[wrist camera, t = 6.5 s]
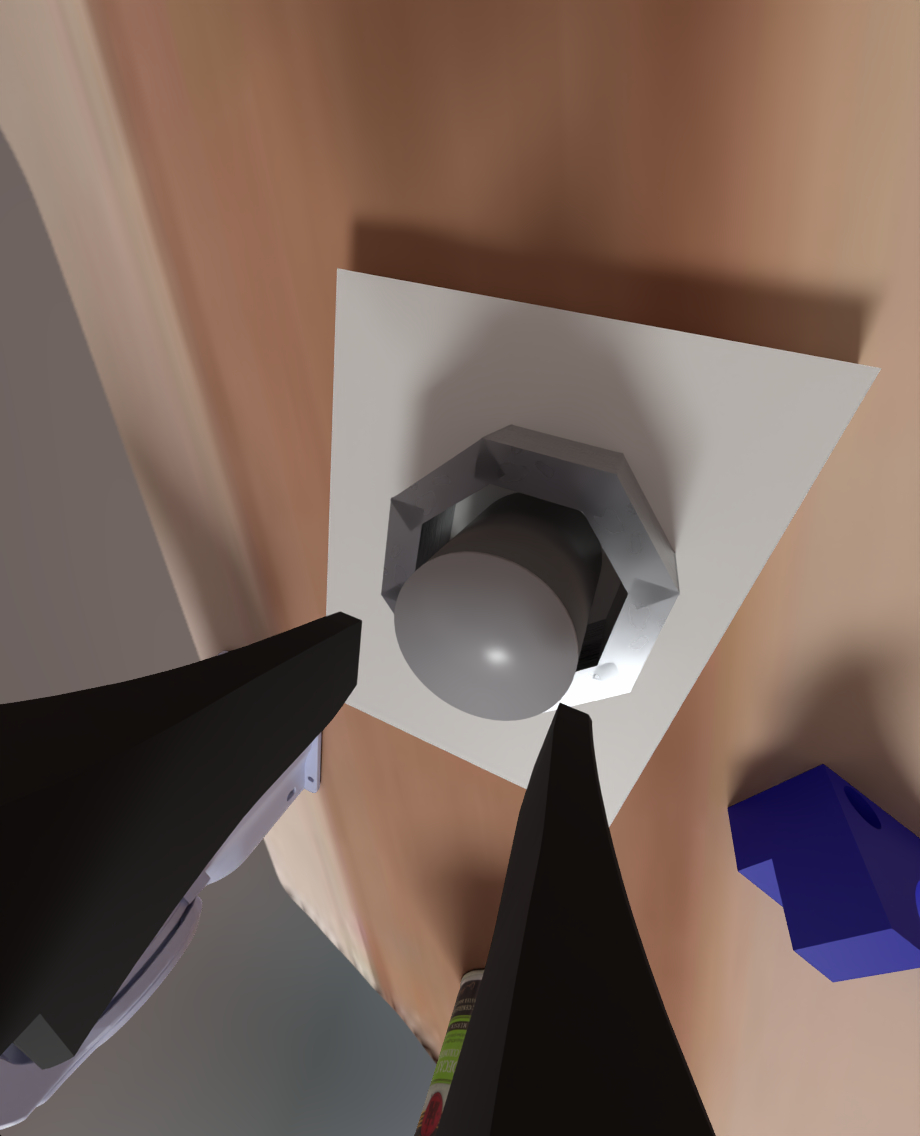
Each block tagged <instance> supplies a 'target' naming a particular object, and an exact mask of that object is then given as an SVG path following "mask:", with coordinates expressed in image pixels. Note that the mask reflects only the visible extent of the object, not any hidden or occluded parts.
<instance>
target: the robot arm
mask: <svg viewBox="0 0 920 1136" xmlns="http://www.w3.org/2000/svg"><path fill="white" fill-rule="evenodd" d="M361 630H362V620H360V619H358V618H355V617H353V616H350V615H348V614H346V613H343V612H341V611H340V612H337V613H334V614H331V615H328V616H325V617H323V618H320V619H317V620H315V621H312V622H309V623H307V624H304V625H302V626H299V627H296V628H294V629H291V630H288V631H286V632H283V633H280V634H278V635H275V636H272V637H270V638H267V639H264V640H261V641H259V642H256V643H253V644H251V645H248V646H245V647H242V648H239V649H236V650H233V651H230V652H228V651H222V652H221V653H219V654H218V656H215V657H211V658H208V659H205V660H202V661H199V662H196V663H193V664H190V665H186V666H183V667H179V668H176V669H172V670H169V671H165V672H161V673H157V674H153V675H149V676H145V677H142V678H137V679H133V680H129V681H125V682H121V683H116V684H111V685H106V686H101V687H96V688H91V689H86V690H81V691H77V692H71V693H67V694H62V695H57V696H51V697H45V698H39V699H33V700H26V701H20V702H14V703H7V704H0V1130H1V1129H4V1128H7V1127H10V1126H13V1125H16V1124H18V1123H20V1122H22V1121H23V1120H25V1119H26V1118H27V1117H28V1116H29V1115H30V1114H31V1112H32V1111H33V1110H34V1109H35V1108H36V1107H37V1106H39V1105H42V1104H43V1103H45V1102H46V1101H47V1100H48V1099H49V1098H50V1097H51V1096H52V1095H53V1093H54V1092H55V1091H56V1090H57V1089H58V1088H59V1087H60V1086H61V1085H62V1084H63V1083H64V1081H65V1080H66V1079H67V1078H68V1077H69V1076H70V1075H71V1074H72V1073H73V1072H74V1071H75V1070H76V1069H77V1068H78V1067H79V1066H80V1064H81V1063H82V1062H83V1061H84V1060H85V1059H86V1058H87V1057H88V1056H89V1055H90V1054H91V1053H92V1052H93V1051H94V1050H95V1049H96V1048H97V1047H99V1046H100V1045H102V1044H103V1043H104V1042H105V1041H107V1040H108V1039H109V1038H110V1037H111V1036H112V1035H114V1034H115V1033H116V1032H117V1031H118V1030H119V1029H120V1028H121V1027H122V1026H123V1025H124V1024H125V1023H126V1022H127V1021H128V1020H129V1019H130V1018H131V1017H132V1016H133V1015H134V1014H135V1012H137V1011H138V1010H139V1008H140V1007H141V1006H142V1005H143V1004H144V1003H145V1002H146V1001H147V999H148V998H149V997H150V996H151V995H152V994H153V993H154V991H155V990H156V989H157V988H158V986H159V985H160V984H161V983H162V982H163V980H164V979H165V977H166V976H167V975H168V974H169V972H170V971H171V970H172V969H173V967H174V966H175V964H176V963H177V962H178V960H179V959H180V957H181V956H182V954H183V953H184V951H185V950H186V948H187V947H188V945H189V943H190V942H191V940H192V938H193V936H194V934H195V932H196V929H197V926H198V922H199V917H200V913H201V910H202V904H203V903H202V900H201V898H199V897H198V896H197V895H198V894H199V893H200V892H201V890H202V889H203V888H204V887H205V886H206V885H208V884H211V883H213V882H215V881H218V880H220V879H221V878H223V877H225V876H227V875H228V874H230V873H231V872H233V871H234V870H235V869H236V868H238V867H239V866H240V865H241V864H242V863H243V862H244V861H245V860H246V858H247V857H248V856H249V855H250V854H251V852H252V851H253V850H254V849H255V848H256V846H257V845H258V844H259V842H260V841H261V840H262V839H263V838H264V837H265V835H266V834H267V833H268V832H269V830H270V829H271V828H272V827H273V826H274V824H275V823H276V822H277V821H278V819H279V818H280V817H281V816H282V815H283V813H284V812H285V811H286V810H287V808H288V807H289V806H290V805H291V804H292V802H293V801H294V800H295V799H296V797H297V796H298V795H299V794H300V792H301V791H302V790H303V789H306V790H308V791H310V792H312V793H316V792H317V791H318V790H319V788H320V761H321V732H322V731H323V729H324V728H325V727H326V726H327V725H328V724H329V723H330V722H331V720H332V719H333V718H334V716H335V715H336V714H337V712H338V711H339V710H340V708H341V707H342V706H343V704H344V703H345V701H346V700H347V698H348V697H349V696H350V694H351V693H352V691H353V690H354V688H355V687H356V686H357V679H358V667H359V655H360V643H361ZM0 1136H1V1135H0ZM435 1136H716V1135H715V1133H714V1130H713V1128H712V1125H711V1123H710V1120H709V1118H708V1115H707V1113H706V1110H705V1108H704V1105H703V1103H702V1100H701V1098H700V1095H699V1093H698V1090H697V1088H696V1085H695V1083H694V1080H693V1078H692V1075H691V1073H690V1070H689V1068H688V1065H687V1063H686V1060H685V1058H684V1055H683V1053H682V1050H681V1048H680V1045H679V1043H678V1040H677V1038H676V1035H675V1033H674V1030H673V1028H672V1025H671V1023H670V1020H669V1018H668V1015H667V1012H666V1010H665V1007H664V1004H663V1001H662V999H661V996H660V993H659V990H658V987H657V985H656V982H655V979H654V976H653V974H652V971H651V968H650V965H649V962H648V959H647V956H646V953H645V950H644V947H643V944H642V941H641V938H640V935H639V932H638V929H637V926H636V923H635V920H634V917H633V914H632V910H631V907H630V904H629V901H628V897H627V894H626V890H625V887H624V883H623V880H622V876H621V872H620V869H619V865H618V861H617V858H616V854H615V850H614V846H613V842H612V838H611V834H610V830H609V825H608V821H607V816H606V811H605V807H604V802H603V797H602V793H601V787H600V782H599V776H598V770H597V764H596V757H595V750H594V741H593V729H592V720H591V718H590V716H589V714H587V713H584V712H582V711H579V710H577V709H575V708H572V707H570V706H567V705H565V704H563V703H560V702H559V705H558V707H557V710H556V712H555V715H554V717H553V720H552V722H551V725H550V727H549V730H548V732H547V735H546V737H545V740H544V742H543V745H542V747H541V750H540V752H539V755H538V757H537V760H536V762H535V765H534V768H533V771H532V774H531V777H530V780H529V783H528V787H527V790H526V793H525V796H524V799H523V803H522V806H521V809H520V812H519V817H518V821H517V826H516V831H515V836H514V840H513V845H512V850H511V854H510V859H509V864H508V869H507V874H506V878H505V883H504V888H503V893H502V897H501V902H500V907H499V912H498V916H497V921H496V926H495V931H494V935H493V939H492V943H491V947H490V951H489V955H488V959H487V963H486V966H485V970H484V973H483V977H482V980H481V984H480V987H479V990H478V994H477V997H476V1001H475V1004H474V1007H473V1011H472V1014H471V1018H470V1021H469V1025H468V1028H467V1031H466V1035H465V1038H464V1041H463V1045H462V1048H461V1052H460V1055H459V1058H458V1062H457V1065H456V1068H455V1072H454V1075H453V1079H452V1082H451V1085H450V1089H449V1092H448V1095H447V1099H446V1102H445V1105H444V1109H443V1112H442V1115H441V1119H440V1122H439V1125H438V1129H437V1132H436V1135H435Z"/></svg>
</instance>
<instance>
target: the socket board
mask: <svg viewBox="0 0 920 1136" xmlns="http://www.w3.org/2000/svg"><path fill="white" fill-rule="evenodd" d="M880 370H881V368H877V367H872V366H866V365H861V364H855V363H850V362H844V361H839V360H834V359H828V358H823V357H817V356H812V355H806V354H801V353H795V352H790V351H784V350H779V349H774V348H768V347H763V346H757V345H752V344H746V343H741V342H735V341H730V340H725V339H719V338H714V337H708V336H703V335H697V334H692V333H686V332H681V331H676V330H670V329H665V328H659V327H654V326H648V325H643V324H637V323H632V322H626V321H621V320H616V319H610V318H605V317H599V316H594V315H588V314H583V313H577V312H572V311H567V310H561V309H556V308H550V307H545V306H539V305H534V304H528V303H523V302H517V301H512V300H507V299H501V298H496V297H490V296H485V295H479V294H474V293H468V292H463V291H458V290H452V289H447V288H441V287H436V286H430V285H425V284H419V283H414V282H408V281H403V280H398V279H392V278H387V277H381V276H376V275H370V274H365V273H359V272H354V271H349V270H343V269H338V268H337V290H336V321H335V353H334V385H333V417H332V449H331V481H330V513H329V544H328V576H327V608H326V616H328V615H331V614H334V613H337V612H340V611H341V612H343V613H346V614H348V615H350V616H353V617H355V618H358V619H360V620H362V630H361V643H360V655H359V667H358V679H357V686H356V687H355V688H354V690H353V691H352V693H351V694H350V696H349V697H348V698H347V700H346V701H345V703H346V704H348V705H350V706H352V707H355V708H357V709H359V710H361V711H363V712H365V713H367V714H369V715H371V716H373V717H376V718H378V719H380V720H382V721H384V722H386V723H388V724H390V725H392V726H394V727H397V728H399V729H401V730H403V731H405V732H407V733H409V734H411V735H413V736H416V737H418V738H420V739H422V740H424V741H426V742H428V743H430V744H432V745H434V746H437V747H439V748H441V749H443V750H445V751H447V752H449V753H451V754H453V755H455V756H458V757H460V758H462V759H464V760H466V761H468V762H470V763H472V764H474V765H477V766H479V767H481V768H483V769H485V770H487V771H489V772H491V773H493V774H495V775H498V776H500V777H502V778H504V779H506V780H508V781H510V782H512V783H514V784H516V785H519V786H521V787H523V788H525V789H527V787H528V783H529V780H530V777H531V774H532V771H533V768H534V765H535V762H536V760H537V757H538V755H539V752H540V750H541V747H542V745H543V742H544V740H545V737H546V735H547V732H548V730H549V727H550V725H551V722H552V720H553V717H554V715H555V712H556V710H557V707H558V705H559V702H560V703H563V704H565V705H567V706H570V707H572V708H575V709H577V710H579V711H582V712H584V713H587V714H589V716H590V718H591V720H592V729H593V741H594V750H595V757H596V764H597V770H598V776H599V782H600V787H601V793H602V797H603V802H604V807H605V811H606V816H607V821H608V825H609V827H610V825H611V823H612V821H613V820H614V818H615V816H616V815H617V813H618V811H619V810H620V808H621V806H622V805H623V803H624V801H625V800H626V798H627V796H628V794H629V793H630V791H631V789H632V788H633V786H634V784H635V783H636V781H637V779H638V778H639V776H640V774H641V773H642V771H643V769H644V768H645V766H646V764H647V762H648V761H649V759H650V757H651V756H652V754H653V752H654V751H655V749H656V747H657V746H658V744H659V742H660V741H661V739H662V737H663V736H664V734H665V732H666V730H667V729H668V727H669V725H670V724H671V722H672V720H673V719H674V717H675V715H676V714H677V712H678V710H679V709H680V707H681V705H682V703H683V702H684V700H685V698H686V697H687V695H688V693H689V692H690V690H691V688H692V687H693V685H694V683H695V682H696V680H697V678H698V677H699V675H700V673H701V671H702V670H703V668H704V666H705V665H706V663H707V661H708V660H709V658H710V656H711V655H712V653H713V651H714V650H715V648H716V646H717V644H718V643H719V641H720V639H721V638H722V636H723V634H724V633H725V631H726V629H727V628H728V626H729V624H730V623H731V621H732V619H733V618H734V616H735V614H736V612H737V611H738V609H739V607H740V606H741V604H742V602H743V601H744V599H745V597H746V596H747V594H748V592H749V591H750V589H751V587H752V586H753V584H754V582H755V580H756V579H757V577H758V575H759V574H760V572H761V570H762V569H763V567H764V565H765V564H766V562H767V560H768V559H769V557H770V555H771V553H772V552H773V550H774V548H775V547H776V545H777V543H778V542H779V540H780V538H781V537H782V535H783V533H784V532H785V530H786V528H787V527H788V525H789V523H790V521H791V520H792V518H793V516H794V515H795V513H796V511H797V510H798V508H799V506H800V505H801V503H802V501H803V500H804V498H805V496H806V494H807V493H808V491H809V489H810V488H811V486H812V484H813V483H814V481H815V479H816V478H817V476H818V474H819V473H820V471H821V469H822V468H823V466H824V464H825V462H826V461H827V459H828V457H829V456H830V454H831V452H832V451H833V449H834V447H835V446H836V444H837V442H838V441H839V439H840V437H841V436H842V434H843V432H844V430H845V429H846V427H847V425H848V424H849V422H850V420H851V419H852V417H853V415H854V414H855V412H856V410H857V409H858V407H859V405H860V403H861V402H862V400H863V398H864V397H865V395H866V393H867V392H868V390H869V388H870V387H871V385H872V383H873V382H874V380H875V378H876V377H877V375H878V373H879V371H880ZM518 492H519V493H523V494H526V495H529V496H533V497H536V498H539V499H543V500H546V501H549V502H553V503H556V504H559V505H563V506H566V507H569V508H573V509H576V510H579V511H581V512H582V513H583V514H584V515H585V517H586V518H587V520H588V522H589V524H590V526H591V527H592V529H593V531H594V533H595V535H596V536H597V538H598V540H599V542H600V545H601V551H602V566H601V572H600V576H599V580H598V584H597V588H596V592H595V596H594V600H593V604H592V608H591V612H590V616H589V620H588V624H587V628H586V632H585V636H584V640H583V644H582V648H581V652H580V656H579V660H578V664H577V668H576V672H575V675H574V678H573V681H572V683H571V685H570V687H569V689H568V691H567V692H566V694H565V695H564V696H563V698H562V699H561V700H560V701H559V702H558V703H556V704H555V705H554V706H553V707H551V708H550V709H548V710H547V711H545V712H543V713H541V714H539V715H537V716H534V717H530V718H527V719H522V720H515V721H499V720H490V719H485V718H481V717H477V716H474V715H471V714H468V713H466V712H463V711H461V710H459V709H457V708H455V707H453V706H451V705H449V704H448V703H446V702H444V701H443V700H441V699H440V698H439V697H437V696H436V695H435V694H433V693H432V692H431V691H430V690H429V689H428V688H427V687H426V686H425V685H424V684H423V683H422V682H421V681H420V680H419V679H418V678H417V677H416V675H415V674H414V673H413V671H412V670H411V669H410V667H409V665H408V664H407V662H406V660H405V659H404V656H403V654H402V652H401V650H400V647H399V644H398V641H397V638H396V633H395V626H394V610H395V605H396V600H397V598H398V595H399V592H400V590H401V588H402V587H403V585H404V583H405V582H406V581H407V579H408V578H409V577H410V576H411V575H412V574H413V573H414V572H415V571H416V570H417V569H419V568H420V567H421V566H422V565H423V564H424V563H425V562H426V561H428V560H429V559H430V558H431V557H432V556H433V555H434V554H435V553H437V552H438V551H439V550H440V549H441V548H442V547H443V546H445V545H446V544H447V543H448V542H449V541H450V540H451V539H452V538H454V537H455V536H456V535H457V534H458V533H459V532H460V531H461V530H463V529H464V528H465V527H466V526H467V525H468V524H469V523H470V522H472V521H473V520H474V519H475V518H476V517H477V516H478V515H480V514H481V513H482V512H483V511H484V510H485V509H486V508H487V507H489V506H490V505H491V504H492V503H494V502H495V501H497V500H498V499H500V498H502V497H504V496H507V495H510V494H513V493H518Z"/></svg>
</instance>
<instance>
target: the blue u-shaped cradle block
mask: <svg viewBox="0 0 920 1136" xmlns="http://www.w3.org/2000/svg"><path fill="white" fill-rule="evenodd" d="M728 814H729V820H730V826H731V832H732V838H733V845H734V851H735V857H736V863H737V869H738V872H740V873H741V874H742V875H743V876H745V877H746V878H747V879H748V880H750V881H751V882H752V883H753V884H755V885H756V886H757V887H759V888H760V889H761V890H762V891H764V892H765V893H766V894H767V895H769V896H770V897H771V898H772V899H774V900H775V901H776V902H777V903H779V904H780V905H781V906H782V907H783V909H784V913H785V917H786V921H787V926H788V930H789V934H790V938H791V943H792V947H793V951H795V952H796V953H797V954H798V955H800V956H801V957H802V958H803V959H805V960H806V961H807V962H808V963H810V964H811V965H812V966H813V967H815V968H816V969H817V970H818V971H820V972H821V973H822V974H823V975H825V976H826V977H827V978H828V979H830V980H831V981H832V982H838V981H844V980H850V979H855V978H861V977H867V976H873V975H879V974H885V973H891V972H897V971H903V970H909V969H914V968H920V838H919V837H917V836H916V835H915V834H913V833H912V832H911V831H910V830H908V829H907V828H906V827H904V826H903V825H902V824H900V823H899V822H898V821H897V820H895V819H894V818H893V817H891V816H890V815H889V814H888V813H886V812H885V811H884V810H882V809H881V808H880V807H879V806H877V805H876V804H875V803H873V802H872V801H871V800H869V799H868V798H867V797H866V796H864V795H863V794H862V793H860V792H859V791H858V790H857V789H855V788H854V787H853V786H851V785H850V784H849V783H847V782H846V781H845V780H844V779H842V778H841V777H840V776H838V775H837V774H836V773H835V772H833V771H832V770H831V769H829V768H828V767H827V766H825V765H824V764H822V765H820V766H817V767H815V768H813V769H811V770H809V771H807V772H804V773H802V774H800V775H798V776H796V777H794V778H791V779H789V780H787V781H785V782H783V783H780V784H778V785H776V786H774V787H772V788H770V789H767V790H765V791H763V792H761V793H759V794H757V795H754V796H752V797H750V798H748V799H746V800H744V801H741V802H739V803H737V804H735V805H733V806H730V807H728Z"/></svg>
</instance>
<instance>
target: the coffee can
mask: <svg viewBox="0 0 920 1136" xmlns="http://www.w3.org/2000/svg"><path fill="white" fill-rule="evenodd" d="M483 973H484V970H473V971H470V972H468V973H466V974H465V975H464V976H463V978H462V980H461V984H460V990H459V993H458V996H457V1000H456V1003H455V1006H454V1010H453V1013H452V1016H451V1019H450V1023H449V1026H448V1029H447V1033H446V1036H445V1039H444V1042H443V1045H442V1049H441V1052H440V1056H439V1059H438V1062H437V1065H436V1069H435V1072H434V1075H433V1078H432V1081H431V1085H430V1088H429V1091H428V1094H427V1097H426V1101H425V1104H424V1107H423V1111H422V1114H421V1117H420V1120H419V1123H418V1126H417V1130H416V1133H415V1135H414V1136H435V1135H436V1132H437V1129H438V1125H439V1122H440V1119H441V1115H442V1112H443V1109H444V1105H445V1102H446V1099H447V1095H448V1092H449V1089H450V1085H451V1082H452V1079H453V1075H454V1072H455V1068H456V1065H457V1062H458V1058H459V1055H460V1052H461V1048H462V1045H463V1041H464V1038H465V1035H466V1031H467V1028H468V1025H469V1021H470V1018H471V1014H472V1011H473V1007H474V1004H475V1001H476V997H477V994H478V990H479V987H480V984H481V980H482V977H483Z"/></svg>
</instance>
